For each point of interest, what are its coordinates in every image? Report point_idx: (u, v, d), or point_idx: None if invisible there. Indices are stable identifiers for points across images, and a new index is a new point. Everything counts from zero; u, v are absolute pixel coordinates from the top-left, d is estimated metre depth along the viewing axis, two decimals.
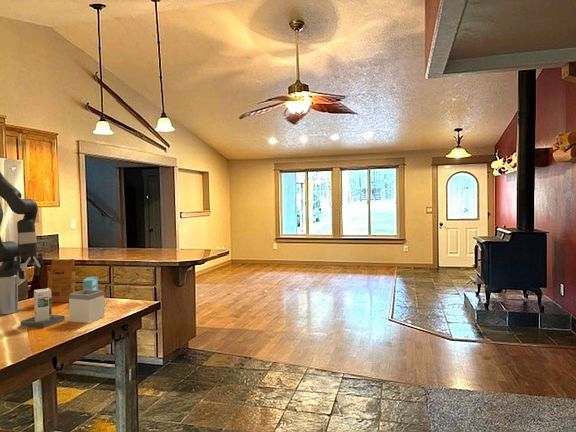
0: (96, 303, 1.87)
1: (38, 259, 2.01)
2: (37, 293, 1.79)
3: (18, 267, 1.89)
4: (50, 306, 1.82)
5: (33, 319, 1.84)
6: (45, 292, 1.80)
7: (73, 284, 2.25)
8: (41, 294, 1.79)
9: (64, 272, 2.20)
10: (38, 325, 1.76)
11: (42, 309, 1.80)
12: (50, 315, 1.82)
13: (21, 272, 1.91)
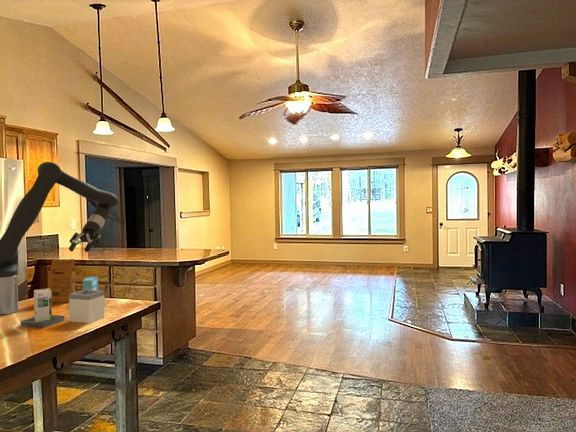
0: (96, 303, 1.87)
1: (75, 238, 2.09)
2: (37, 293, 1.79)
3: None
4: (50, 306, 1.82)
5: (33, 319, 1.84)
6: (45, 292, 1.80)
7: (73, 284, 2.25)
8: (41, 294, 1.79)
9: (64, 272, 2.20)
10: (38, 325, 1.76)
11: (42, 309, 1.80)
12: (50, 315, 1.82)
13: None
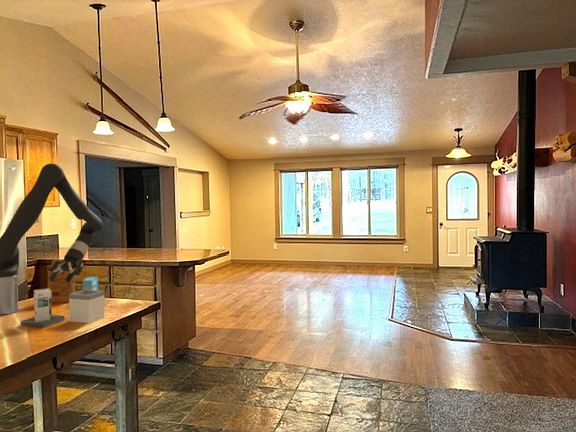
0: (96, 303, 1.87)
1: (56, 266, 1.97)
2: (37, 293, 1.79)
3: None
4: (50, 306, 1.82)
5: (33, 319, 1.84)
6: (45, 292, 1.80)
7: (73, 284, 2.25)
8: (41, 294, 1.79)
9: (64, 272, 2.20)
10: (38, 325, 1.76)
11: (42, 309, 1.80)
12: (50, 315, 1.82)
13: None
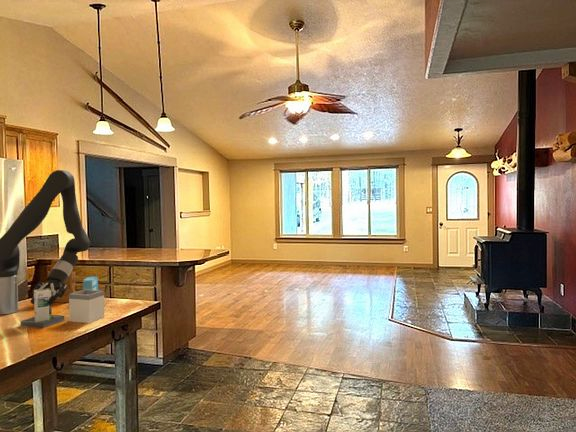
0: (96, 303, 1.87)
1: (38, 288, 1.87)
2: (37, 293, 1.79)
3: None
4: (50, 306, 1.82)
5: (33, 319, 1.84)
6: (45, 292, 1.80)
7: (73, 284, 2.25)
8: (41, 294, 1.79)
9: None
10: (38, 325, 1.76)
11: (42, 309, 1.80)
12: (50, 315, 1.82)
13: None
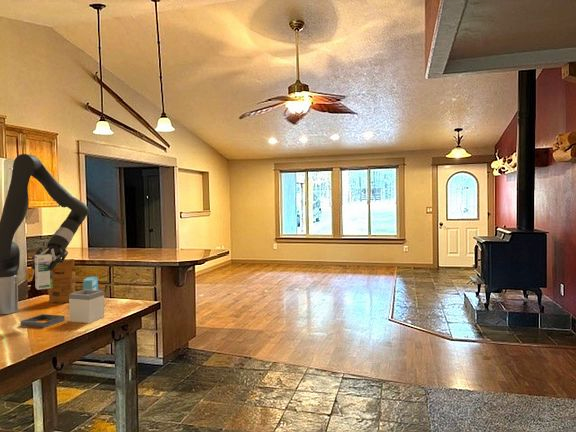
0: (96, 303, 1.87)
1: (39, 254, 1.87)
2: (38, 257, 1.78)
3: None
4: (51, 271, 1.81)
5: (33, 319, 1.84)
6: (46, 257, 1.80)
7: (73, 284, 2.25)
8: (42, 258, 1.79)
9: (64, 272, 2.20)
10: (38, 325, 1.76)
11: (42, 273, 1.79)
12: (51, 280, 1.81)
13: None
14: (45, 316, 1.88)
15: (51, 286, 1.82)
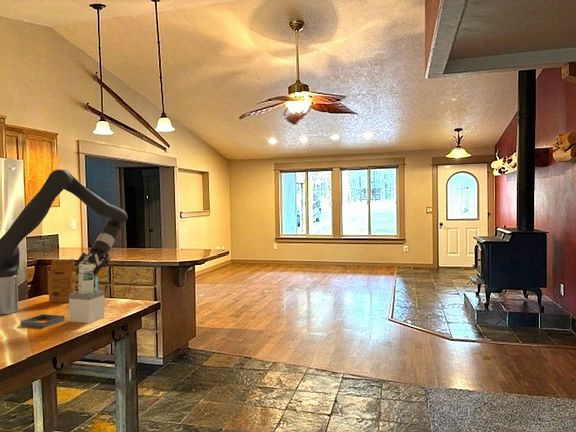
0: (96, 303, 1.87)
1: (83, 259, 1.94)
2: (83, 267, 1.85)
3: None
4: (95, 280, 1.88)
5: (33, 319, 1.84)
6: (90, 266, 1.87)
7: (73, 284, 2.25)
8: (87, 268, 1.86)
9: (64, 272, 2.20)
10: (38, 325, 1.76)
11: (87, 282, 1.86)
12: (94, 289, 1.88)
13: None
14: (45, 316, 1.88)
15: None
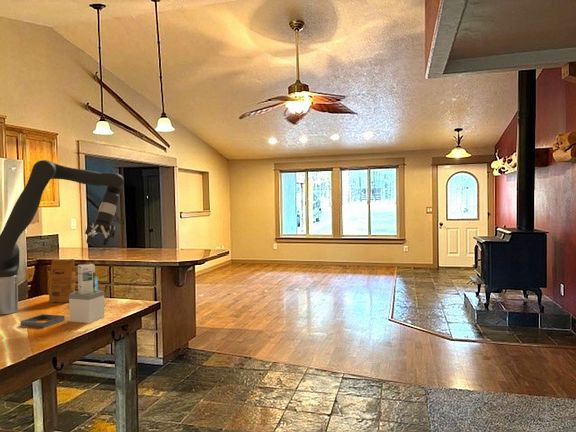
0: (96, 303, 1.87)
1: (90, 228, 2.06)
2: (82, 267, 1.85)
3: None
4: (94, 280, 1.88)
5: (33, 319, 1.84)
6: (89, 266, 1.87)
7: (73, 284, 2.25)
8: (86, 268, 1.86)
9: (64, 272, 2.20)
10: (38, 325, 1.76)
11: (86, 282, 1.86)
12: (94, 289, 1.88)
13: None
14: (45, 316, 1.88)
15: None
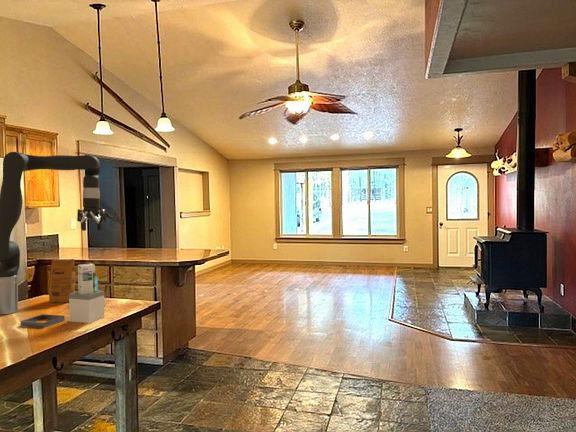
0: (96, 303, 1.87)
1: (81, 215, 2.07)
2: (82, 267, 1.85)
3: None
4: (94, 280, 1.88)
5: (33, 319, 1.84)
6: (89, 266, 1.87)
7: (73, 284, 2.25)
8: (86, 268, 1.86)
9: (64, 272, 2.20)
10: (38, 325, 1.76)
11: (86, 282, 1.86)
12: (94, 289, 1.88)
13: None
14: (45, 316, 1.88)
15: None
